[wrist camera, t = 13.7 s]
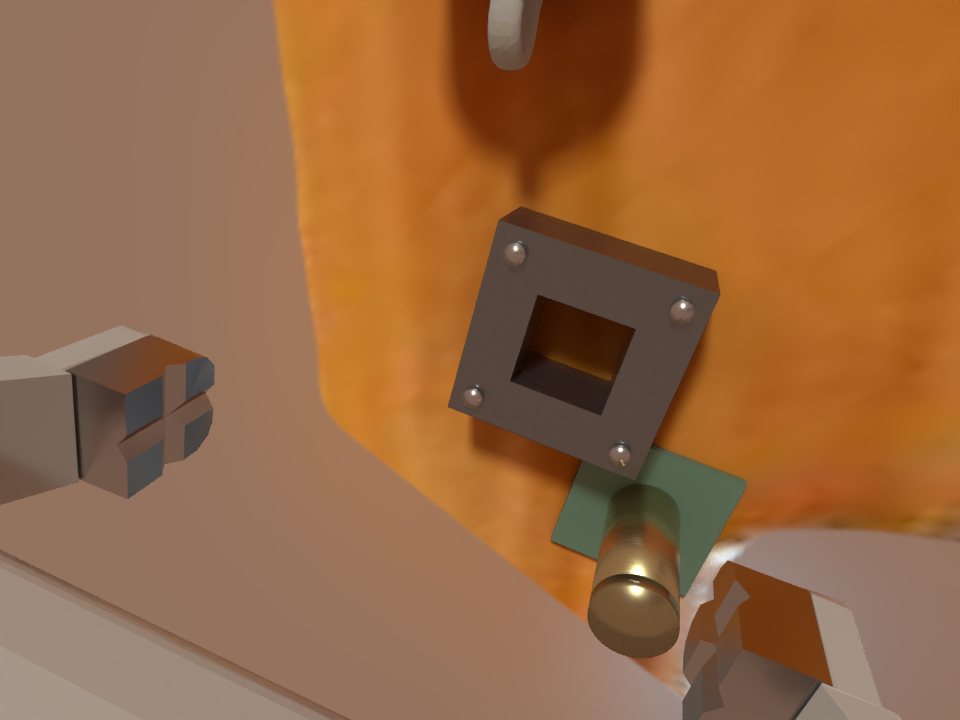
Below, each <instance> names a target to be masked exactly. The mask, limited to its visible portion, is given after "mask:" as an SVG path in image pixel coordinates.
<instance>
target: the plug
mask: <svg viewBox="0 0 960 720" xmlns="http://www.w3.org/2000/svg"><path fill="white" fill-rule="evenodd" d="M588 623H589V626H590V628H591V630H592V632H593V634H594V635H595V636H596V637H597V639H598V640H599V641H600V642H601V643H602V644H604V645H605V646H606V647H608V648H609V649H611V650H613V651H615V652H617V653H619V654H622V655H625V656H629V657H634V658H649V657H655V656H658V655H661V654H663V653H665V652H667V651H668V650H669V649H671V648H672V647H673V646H674V644H675V643H676V641H677V639H678V636H679V630H680V511H679V508H678V506H677V504H676V502H675V501H674V499H673V498H672V497H671V496H670V495H669V494H667V493H666V492H665V491H663V490H661V489H659V488H657V487H655V486H651V485H647V484H633V485H629V486H626V487H623V488H621V489H620V490H618V491H617V492H616V493H615V494H614V495H613V496H612V497H611V499H610V501H609V503H608V508H607V513H606V518H605V523H604V529H603V534H602V539H601V544H600V550H599V555H598V560H597V566H596V571H595V576H594V581H593V587H592V592H591V597H590V602H589V608H588Z"/></svg>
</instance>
